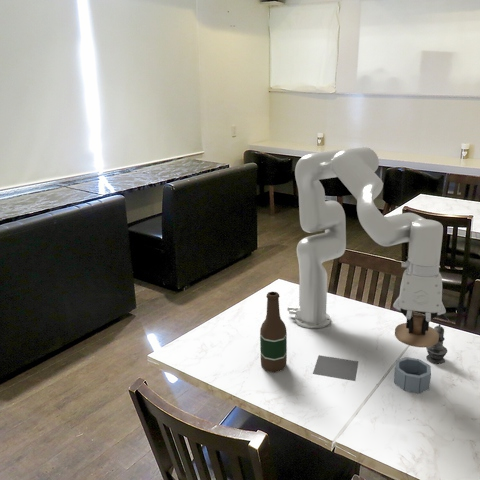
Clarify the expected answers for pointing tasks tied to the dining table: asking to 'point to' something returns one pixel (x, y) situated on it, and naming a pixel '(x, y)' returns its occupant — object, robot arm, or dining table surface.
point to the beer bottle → (273, 337)
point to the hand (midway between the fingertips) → (416, 331)
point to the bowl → (412, 375)
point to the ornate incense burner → (437, 348)
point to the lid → (417, 333)
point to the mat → (336, 367)
